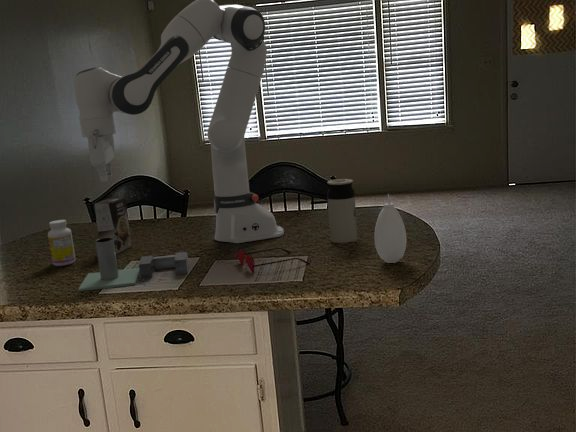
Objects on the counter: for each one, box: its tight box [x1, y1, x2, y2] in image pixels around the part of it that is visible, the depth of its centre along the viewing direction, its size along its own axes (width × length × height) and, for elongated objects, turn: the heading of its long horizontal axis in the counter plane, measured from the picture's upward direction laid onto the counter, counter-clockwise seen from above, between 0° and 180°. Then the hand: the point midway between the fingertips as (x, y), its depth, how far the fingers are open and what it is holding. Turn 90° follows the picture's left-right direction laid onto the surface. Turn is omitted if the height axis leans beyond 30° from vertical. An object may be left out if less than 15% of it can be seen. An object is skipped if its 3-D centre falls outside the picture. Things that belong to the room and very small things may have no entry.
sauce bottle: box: [373, 193, 408, 264], centre depth 155 cm, size 8×8×18 cm
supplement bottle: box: [47, 219, 77, 267], centre depth 182 cm, size 7×7×13 cm
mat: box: [77, 267, 140, 292], centre depth 162 cm, size 14×14×1 cm
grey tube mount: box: [138, 251, 189, 280], centre depth 165 cm, size 12×10×4 cm
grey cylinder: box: [95, 238, 119, 280], centre depth 161 cm, size 4×4×10 cm
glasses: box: [234, 247, 311, 274], centre depth 165 cm, size 14×16×5 cm
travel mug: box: [326, 178, 358, 244], centre depth 181 cm, size 8×8×18 cm
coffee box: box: [94, 197, 132, 254], centre depth 193 cm, size 9×6×16 cm
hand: (106, 179), depth 170 cm, fingers open, 8 cm apart
